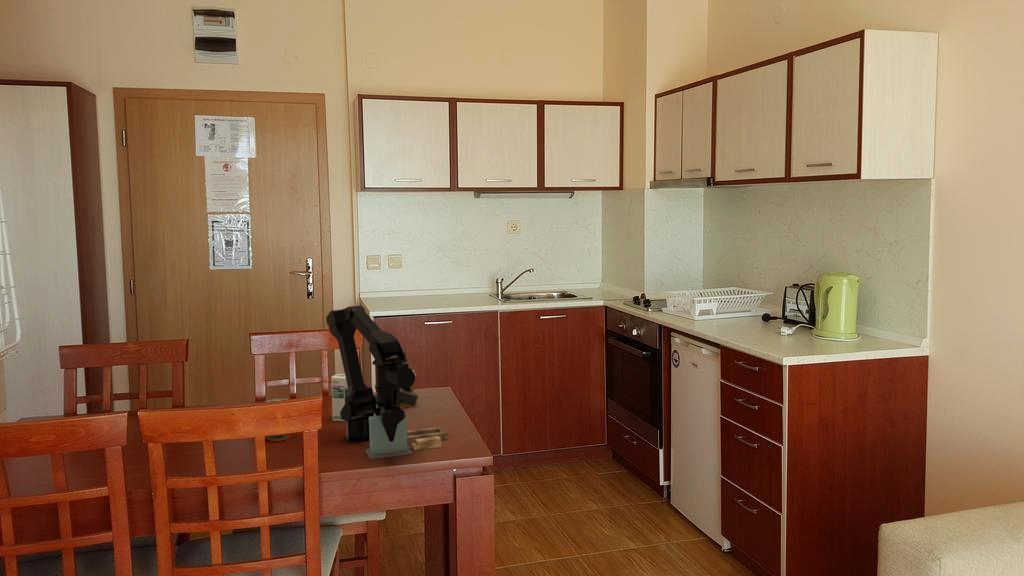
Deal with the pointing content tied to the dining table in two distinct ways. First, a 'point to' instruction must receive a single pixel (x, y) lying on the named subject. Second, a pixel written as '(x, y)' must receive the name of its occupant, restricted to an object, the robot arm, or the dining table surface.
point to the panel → (380, 439)
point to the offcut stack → (427, 443)
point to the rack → (426, 434)
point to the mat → (388, 453)
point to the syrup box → (338, 395)
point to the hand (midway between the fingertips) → (388, 436)
